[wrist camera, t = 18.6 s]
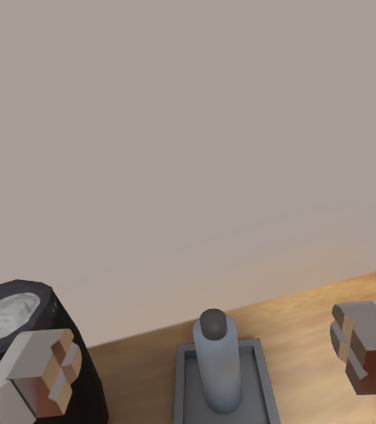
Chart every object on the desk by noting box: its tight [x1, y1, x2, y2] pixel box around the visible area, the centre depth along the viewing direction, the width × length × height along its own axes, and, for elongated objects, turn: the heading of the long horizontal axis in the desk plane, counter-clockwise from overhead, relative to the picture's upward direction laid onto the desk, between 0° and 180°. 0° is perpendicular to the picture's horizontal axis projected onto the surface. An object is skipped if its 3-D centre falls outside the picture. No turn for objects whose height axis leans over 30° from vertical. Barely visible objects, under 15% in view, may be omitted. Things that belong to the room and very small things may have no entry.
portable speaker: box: [0, 279, 109, 424], centre depth 28 cm, size 9×9×20 cm
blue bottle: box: [193, 309, 243, 414], centre depth 31 cm, size 4×4×12 cm
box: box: [173, 338, 281, 424], centre depth 34 cm, size 11×12×2 cm
